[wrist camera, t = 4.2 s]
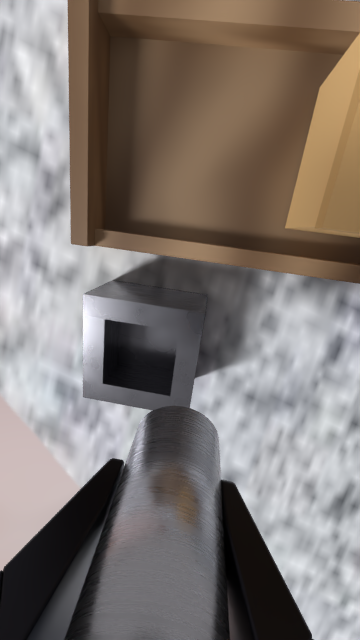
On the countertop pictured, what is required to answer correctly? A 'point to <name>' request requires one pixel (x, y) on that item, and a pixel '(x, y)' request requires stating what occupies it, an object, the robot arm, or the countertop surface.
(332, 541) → the countertop surface
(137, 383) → the square hollow tube
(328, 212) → the tan cardboard box
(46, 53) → the countertop surface
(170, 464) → the rounded metal peg
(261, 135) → the bay
